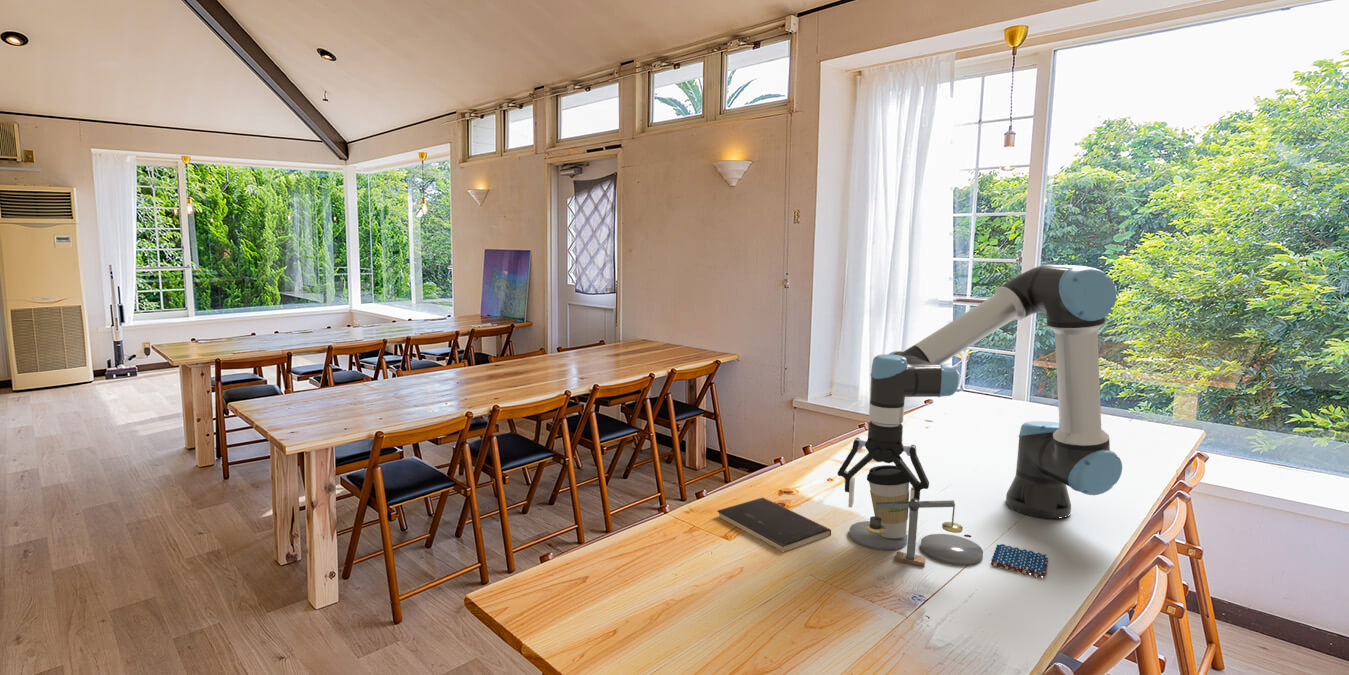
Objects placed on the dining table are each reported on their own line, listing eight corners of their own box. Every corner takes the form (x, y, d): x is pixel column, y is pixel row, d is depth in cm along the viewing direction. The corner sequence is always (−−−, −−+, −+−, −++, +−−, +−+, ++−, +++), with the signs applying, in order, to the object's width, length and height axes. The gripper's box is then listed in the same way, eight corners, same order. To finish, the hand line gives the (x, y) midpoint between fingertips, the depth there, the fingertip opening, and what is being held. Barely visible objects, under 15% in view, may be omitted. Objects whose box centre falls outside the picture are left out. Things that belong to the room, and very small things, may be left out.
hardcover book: (782, 555, 150) (782, 545, 149) (717, 519, 168) (717, 510, 168) (831, 537, 159) (831, 528, 159) (764, 505, 177) (764, 496, 177)
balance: (959, 566, 145) (964, 499, 142) (958, 575, 141) (964, 506, 139) (865, 548, 152) (869, 484, 150) (862, 555, 149) (867, 490, 147)
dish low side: (909, 532, 161) (909, 527, 161) (904, 554, 150) (904, 549, 149) (854, 521, 167) (854, 517, 166) (845, 543, 155) (845, 538, 155)
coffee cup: (917, 541, 151) (913, 476, 150) (872, 541, 153) (867, 477, 152) (911, 524, 161) (907, 463, 159) (869, 525, 163) (864, 465, 161)
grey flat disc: (982, 545, 155) (982, 540, 155) (982, 570, 143) (983, 565, 143) (922, 534, 160) (923, 529, 160) (918, 557, 148) (918, 552, 148)
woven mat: (1045, 582, 140) (1046, 573, 139) (989, 568, 145) (990, 559, 145) (1049, 562, 149) (1050, 553, 148) (996, 549, 154) (997, 541, 154)
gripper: (944, 424, 152) (938, 513, 155) (834, 412, 162) (830, 495, 165) (943, 433, 145) (936, 526, 149) (827, 419, 155) (823, 506, 159)
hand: (880, 510), depth 157 cm, fingers open, 13 cm apart
